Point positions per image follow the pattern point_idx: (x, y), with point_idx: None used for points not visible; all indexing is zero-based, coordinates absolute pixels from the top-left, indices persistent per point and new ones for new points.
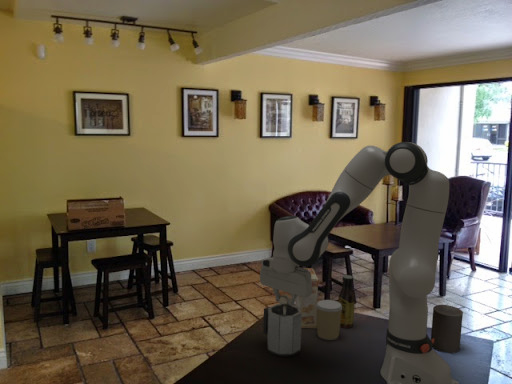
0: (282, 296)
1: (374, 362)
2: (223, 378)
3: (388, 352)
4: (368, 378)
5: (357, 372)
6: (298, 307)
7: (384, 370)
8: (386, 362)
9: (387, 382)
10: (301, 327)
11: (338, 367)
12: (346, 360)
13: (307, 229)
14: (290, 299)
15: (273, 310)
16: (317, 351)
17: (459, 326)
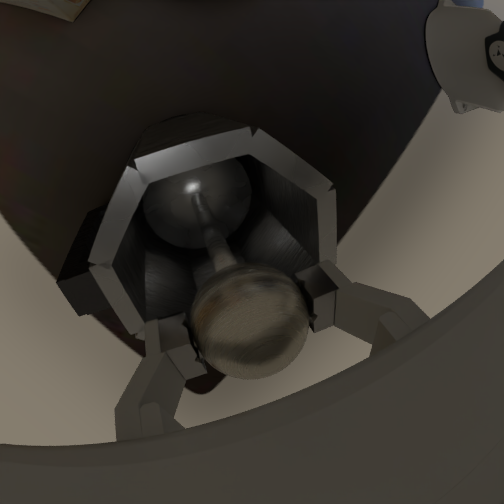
0: (262, 377)
1: (404, 30)
2: None
3: (492, 92)
4: (427, 107)
5: (407, 101)
6: (245, 133)
7: (453, 85)
8: (470, 87)
9: (453, 104)
10: (79, 13)
11: (373, 114)
12: (365, 64)
13: None
14: (317, 309)
15: (135, 290)
16: (276, 82)
17: None
